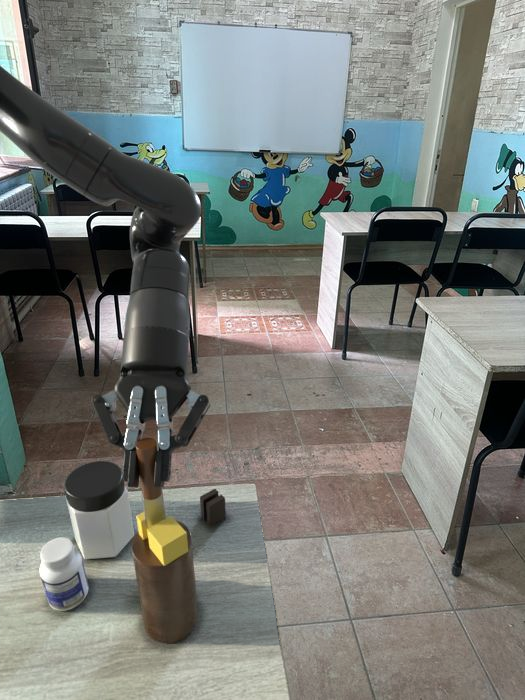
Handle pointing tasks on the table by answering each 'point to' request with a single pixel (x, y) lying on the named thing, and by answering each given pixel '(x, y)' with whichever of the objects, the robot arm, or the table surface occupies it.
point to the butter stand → (166, 591)
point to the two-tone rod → (149, 482)
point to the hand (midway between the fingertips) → (146, 486)
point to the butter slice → (142, 525)
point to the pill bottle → (63, 574)
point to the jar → (99, 509)
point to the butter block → (167, 540)
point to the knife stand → (212, 507)
